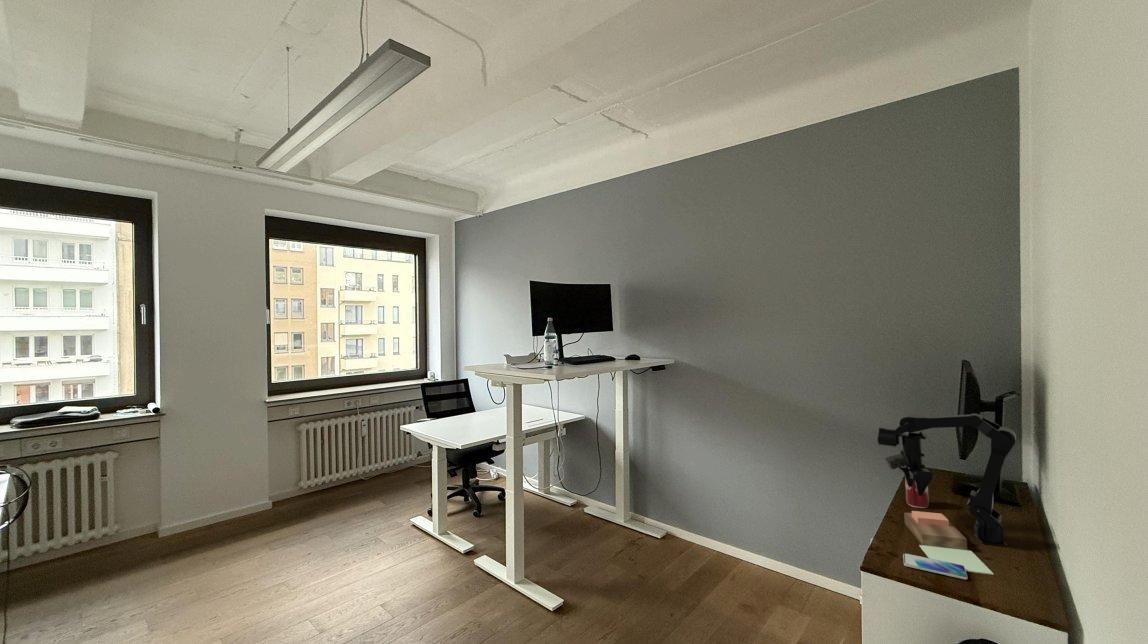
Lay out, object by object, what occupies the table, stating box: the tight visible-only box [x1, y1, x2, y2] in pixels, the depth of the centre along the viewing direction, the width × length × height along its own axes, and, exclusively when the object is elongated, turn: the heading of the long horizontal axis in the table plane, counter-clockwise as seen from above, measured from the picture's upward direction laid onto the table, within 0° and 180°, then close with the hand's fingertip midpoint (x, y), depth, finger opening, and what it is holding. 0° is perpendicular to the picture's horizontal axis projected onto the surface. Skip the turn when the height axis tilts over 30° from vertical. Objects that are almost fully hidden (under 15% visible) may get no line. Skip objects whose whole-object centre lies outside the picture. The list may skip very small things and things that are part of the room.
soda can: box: [904, 479, 930, 509], centre depth 181 cm, size 7×7×12 cm
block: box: [911, 510, 950, 526], centre depth 159 cm, size 9×6×2 cm, turn 69°
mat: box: [919, 544, 995, 576], centre depth 141 cm, size 14×14×1 cm
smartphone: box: [902, 552, 968, 581], centre depth 136 cm, size 7×1×15 cm
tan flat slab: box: [903, 512, 968, 550], centre depth 156 cm, size 12×18×4 cm, turn 159°
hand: (914, 491), depth 166 cm, fingers open, 9 cm apart
